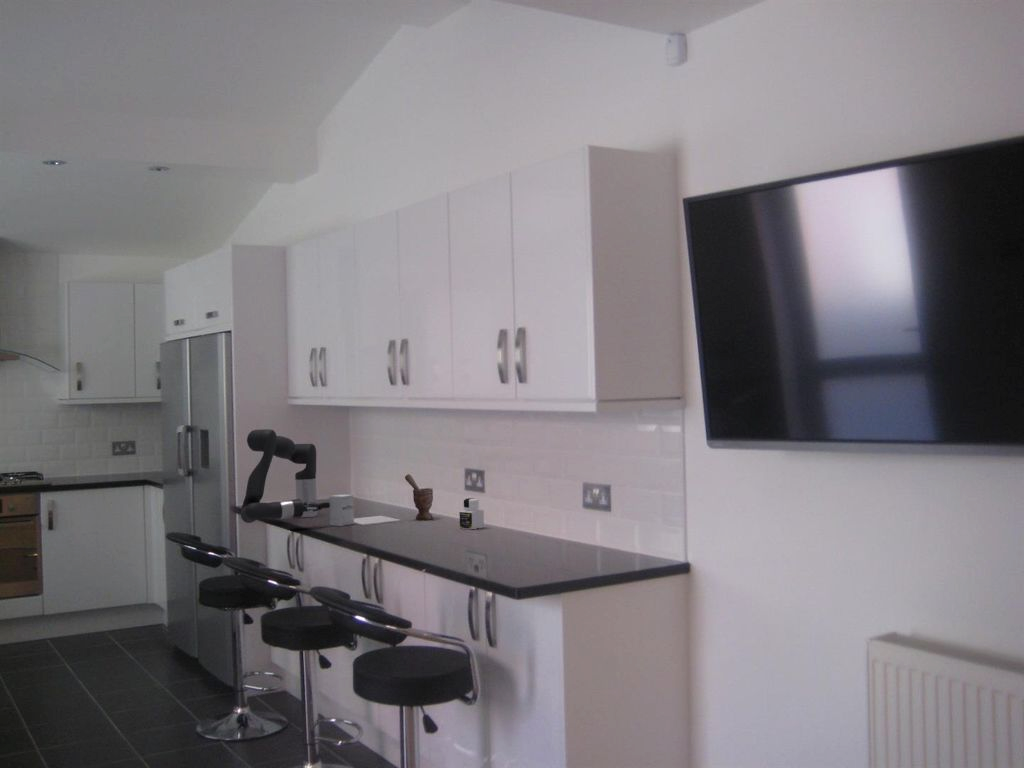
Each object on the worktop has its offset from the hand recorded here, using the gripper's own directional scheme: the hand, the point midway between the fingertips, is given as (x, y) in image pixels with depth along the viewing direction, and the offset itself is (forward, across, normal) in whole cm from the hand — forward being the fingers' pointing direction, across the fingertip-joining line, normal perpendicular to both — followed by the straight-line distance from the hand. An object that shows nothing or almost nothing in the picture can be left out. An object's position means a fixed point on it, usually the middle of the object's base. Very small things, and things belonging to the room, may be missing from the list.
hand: (329, 504), depth 446 cm
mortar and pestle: (+38, -11, +9) cm, 40 cm away
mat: (+20, 0, +9) cm, 22 cm away
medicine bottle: (+41, -50, +9) cm, 65 cm away
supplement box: (+6, 0, +9) cm, 11 cm away
